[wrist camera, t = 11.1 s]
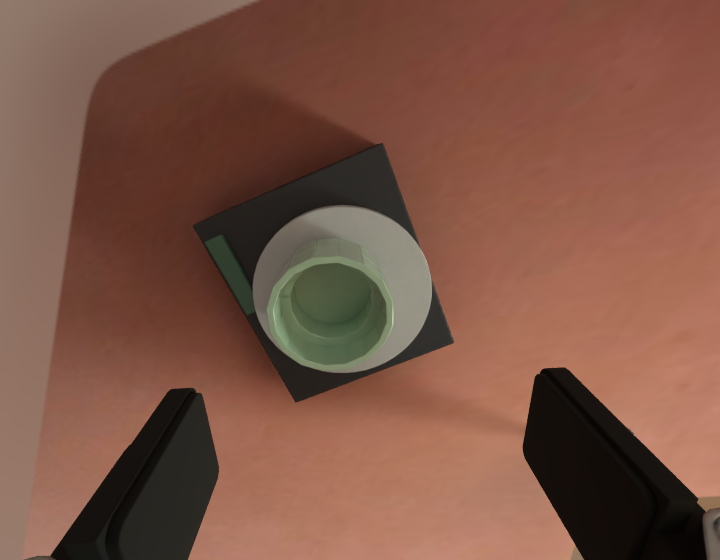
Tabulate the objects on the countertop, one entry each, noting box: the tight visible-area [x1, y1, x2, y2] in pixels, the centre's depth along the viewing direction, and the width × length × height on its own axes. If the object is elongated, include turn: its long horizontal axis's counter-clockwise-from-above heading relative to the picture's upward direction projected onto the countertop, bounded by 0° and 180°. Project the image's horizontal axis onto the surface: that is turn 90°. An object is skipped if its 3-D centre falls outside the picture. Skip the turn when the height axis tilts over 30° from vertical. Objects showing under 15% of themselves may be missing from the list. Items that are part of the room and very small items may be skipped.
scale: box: [193, 143, 454, 402], centre depth 25 cm, size 15×13×4 cm
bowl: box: [266, 238, 393, 371], centre depth 21 cm, size 7×7×5 cm
